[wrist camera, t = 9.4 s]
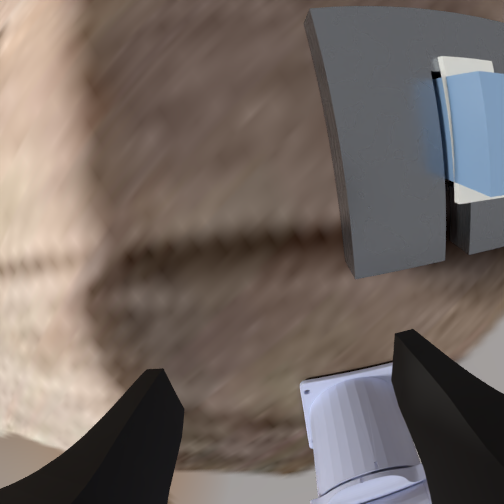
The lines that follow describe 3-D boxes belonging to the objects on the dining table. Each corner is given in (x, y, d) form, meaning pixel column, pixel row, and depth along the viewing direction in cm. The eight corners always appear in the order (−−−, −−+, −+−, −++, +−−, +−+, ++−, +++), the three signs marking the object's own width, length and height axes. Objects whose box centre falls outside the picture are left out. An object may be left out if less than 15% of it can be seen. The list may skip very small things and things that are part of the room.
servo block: (476, 185, 17) (536, 211, 11) (433, 191, 17) (489, 220, 12) (463, 66, 14) (524, 56, 8) (416, 64, 14) (473, 46, 9)
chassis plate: (532, 222, 17) (552, 233, 15) (345, 260, 19) (355, 279, 17) (516, 37, 12) (537, 32, 10) (303, 23, 14) (309, 8, 12)
